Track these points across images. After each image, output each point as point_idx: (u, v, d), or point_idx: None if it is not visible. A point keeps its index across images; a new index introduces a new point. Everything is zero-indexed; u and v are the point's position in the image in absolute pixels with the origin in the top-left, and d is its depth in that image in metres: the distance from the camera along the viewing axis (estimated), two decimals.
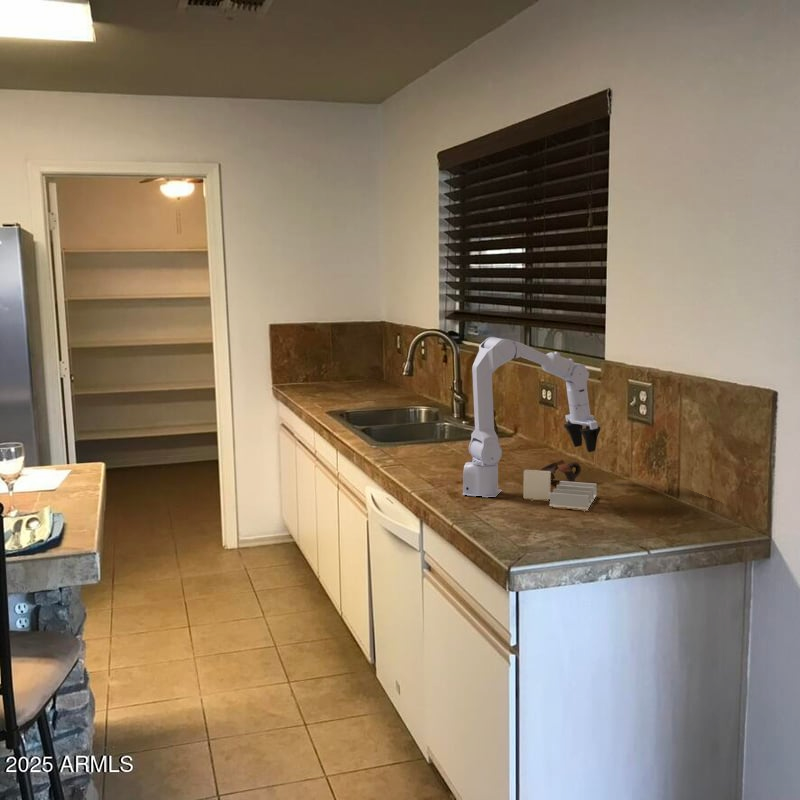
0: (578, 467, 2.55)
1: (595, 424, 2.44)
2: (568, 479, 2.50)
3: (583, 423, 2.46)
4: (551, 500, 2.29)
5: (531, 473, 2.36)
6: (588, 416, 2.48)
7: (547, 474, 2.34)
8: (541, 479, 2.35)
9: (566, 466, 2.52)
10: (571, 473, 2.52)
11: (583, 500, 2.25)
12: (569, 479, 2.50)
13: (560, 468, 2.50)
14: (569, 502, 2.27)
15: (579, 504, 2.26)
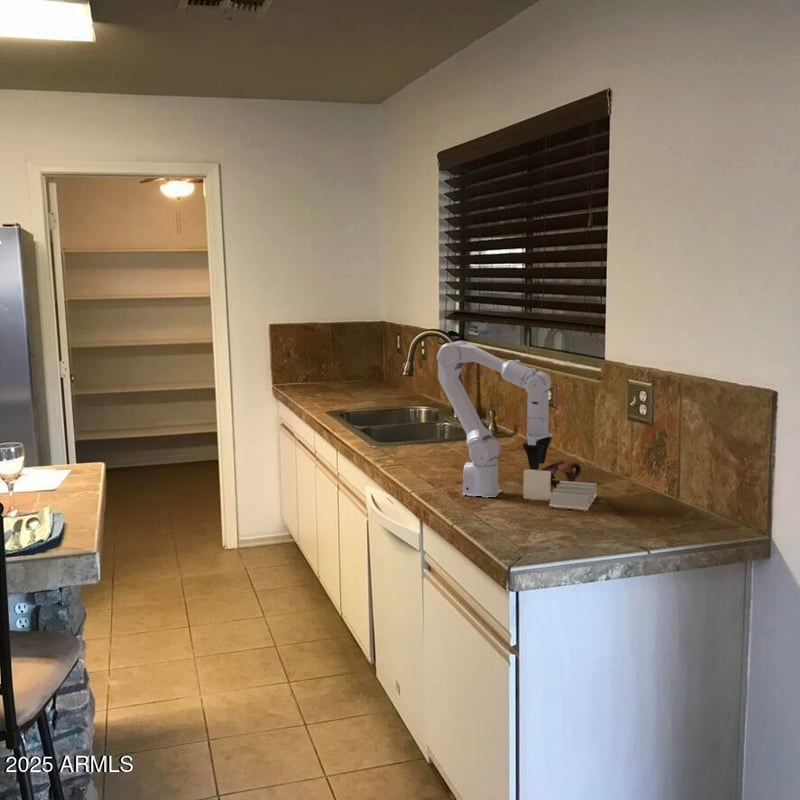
0: (579, 468, 2.54)
1: (532, 440, 2.28)
2: (568, 479, 2.49)
3: (527, 437, 2.31)
4: (551, 500, 2.29)
5: (531, 473, 2.36)
6: (539, 432, 2.32)
7: (547, 474, 2.34)
8: (541, 479, 2.35)
9: (566, 466, 2.51)
10: (571, 473, 2.51)
11: (583, 500, 2.25)
12: (569, 479, 2.50)
13: (560, 468, 2.50)
14: (569, 502, 2.27)
15: (579, 504, 2.26)
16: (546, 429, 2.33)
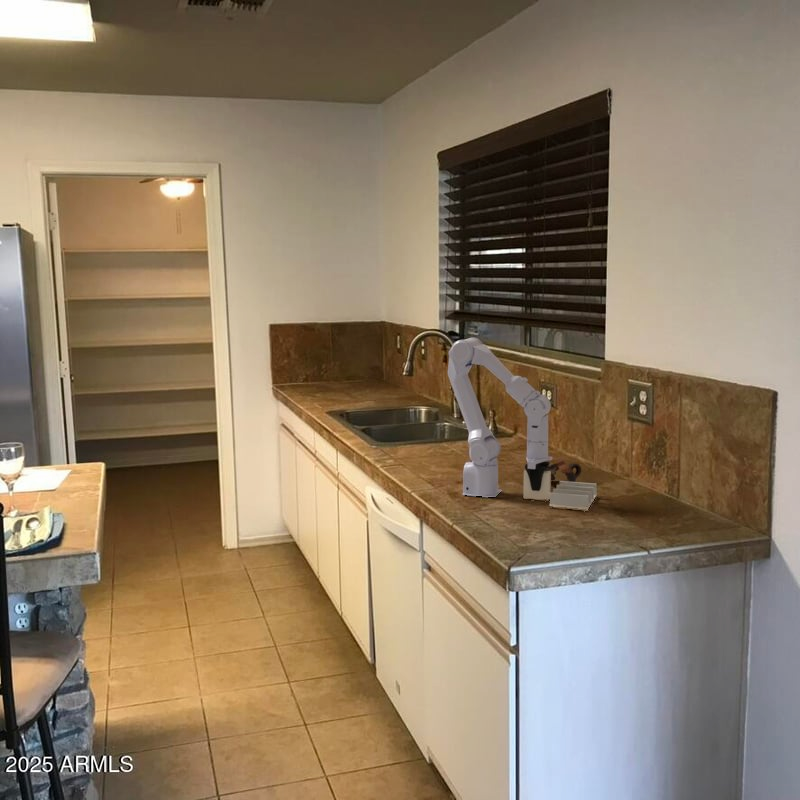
0: (579, 468, 2.54)
1: (532, 464, 2.29)
2: (569, 480, 2.49)
3: (527, 460, 2.32)
4: (551, 500, 2.29)
5: None
6: (539, 455, 2.33)
7: (547, 474, 2.34)
8: None
9: (567, 467, 2.51)
10: (572, 474, 2.51)
11: (583, 500, 2.25)
12: (570, 480, 2.49)
13: (561, 469, 2.49)
14: (569, 502, 2.27)
15: (579, 504, 2.26)
16: (546, 453, 2.33)
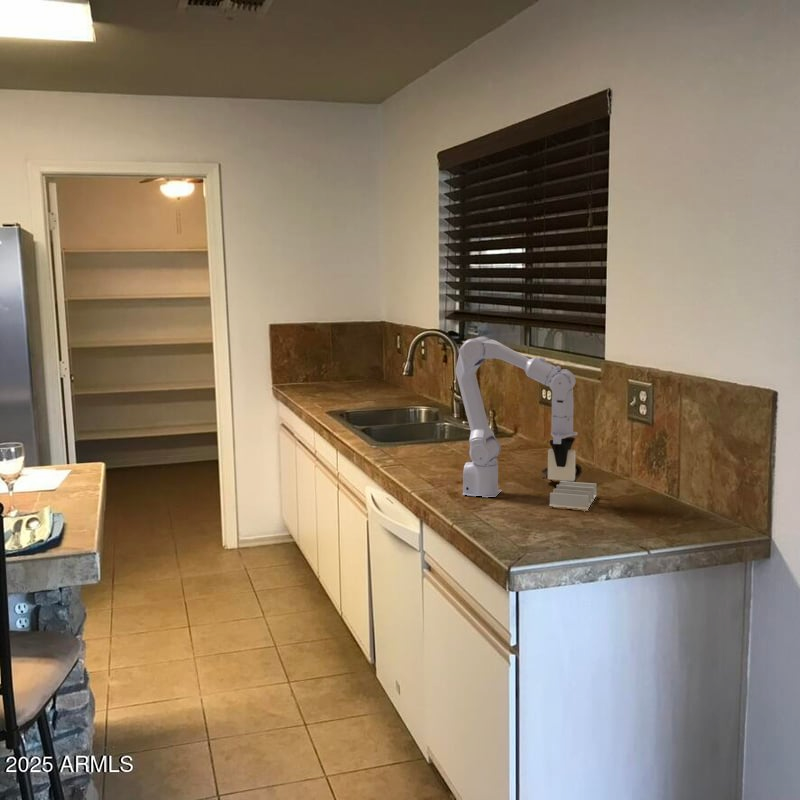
0: (579, 468, 2.53)
1: (558, 439, 2.25)
2: None
3: (552, 435, 2.29)
4: (551, 500, 2.29)
5: None
6: (564, 431, 2.29)
7: (572, 453, 2.31)
8: None
9: None
10: None
11: (583, 500, 2.25)
12: None
13: None
14: (569, 502, 2.27)
15: (579, 504, 2.26)
16: (571, 428, 2.30)
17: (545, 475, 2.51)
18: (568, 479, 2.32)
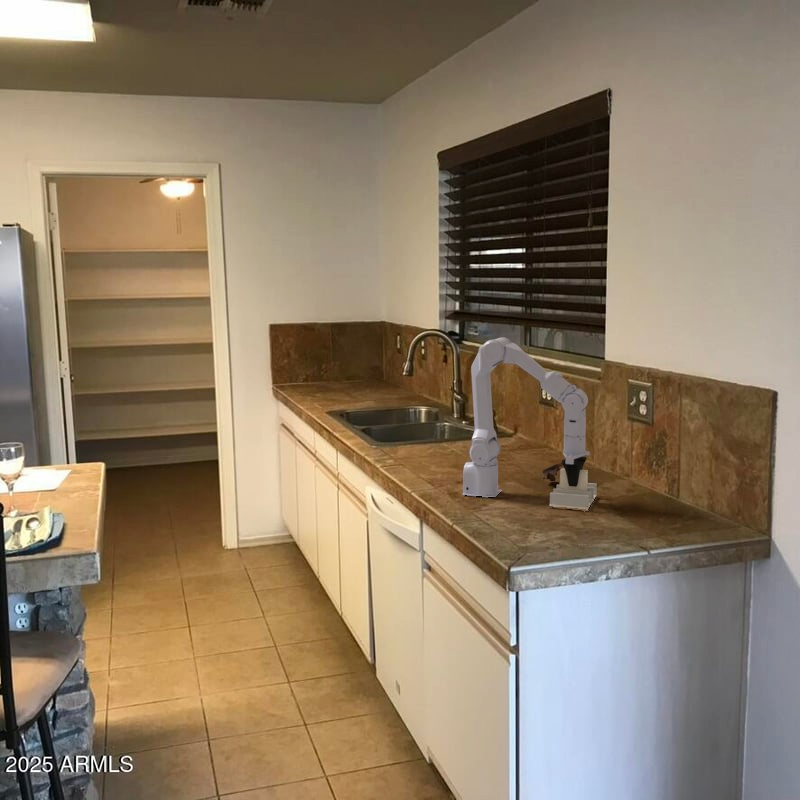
0: None
1: (570, 459, 2.25)
2: None
3: (565, 455, 2.28)
4: (551, 500, 2.29)
5: None
6: (576, 451, 2.29)
7: (584, 473, 2.30)
8: None
9: None
10: None
11: (583, 500, 2.25)
12: None
13: None
14: (569, 502, 2.27)
15: (579, 504, 2.26)
16: (583, 448, 2.30)
17: (545, 475, 2.50)
18: None
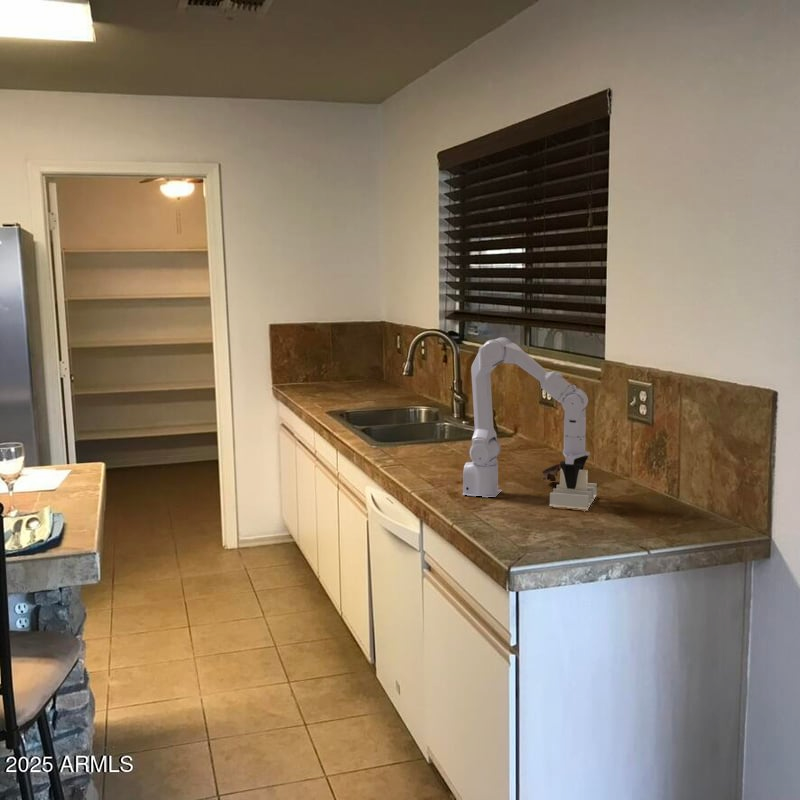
0: None
1: (570, 459, 2.25)
2: None
3: (565, 455, 2.28)
4: (551, 500, 2.29)
5: None
6: (576, 451, 2.29)
7: (584, 473, 2.30)
8: (578, 478, 2.31)
9: None
10: None
11: (583, 500, 2.25)
12: None
13: None
14: (569, 502, 2.27)
15: (579, 504, 2.26)
16: (583, 448, 2.30)
17: (546, 476, 2.50)
18: None
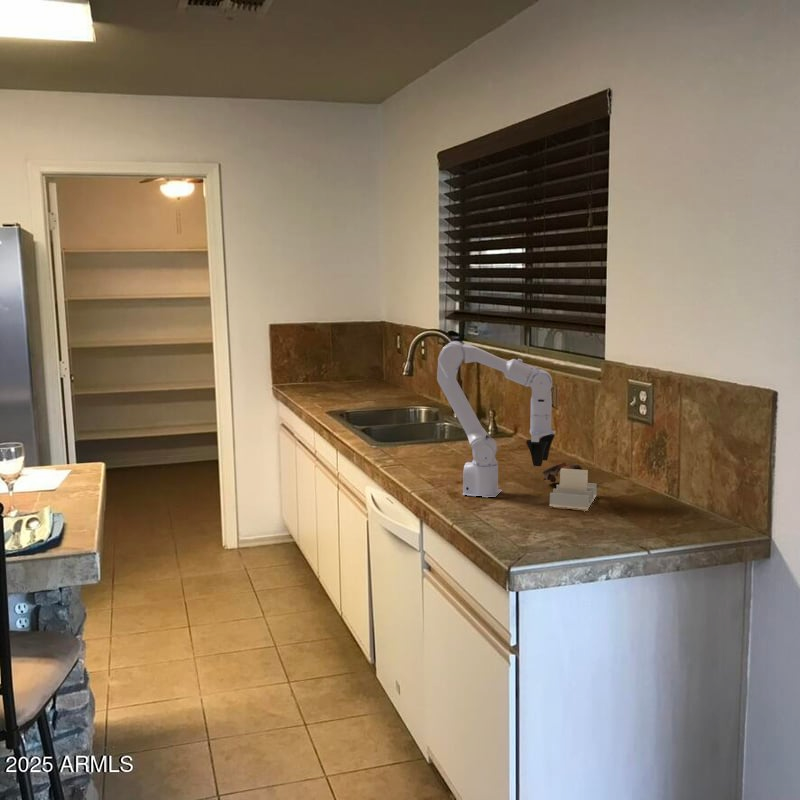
0: (580, 469, 2.52)
1: (536, 437, 2.32)
2: None
3: (531, 434, 2.35)
4: (551, 500, 2.29)
5: (568, 472, 2.32)
6: (542, 429, 2.35)
7: (584, 473, 2.30)
8: (578, 478, 2.31)
9: (568, 468, 2.49)
10: None
11: (583, 500, 2.25)
12: None
13: None
14: (569, 502, 2.27)
15: (579, 504, 2.26)
16: (549, 426, 2.36)
17: (546, 476, 2.49)
18: None
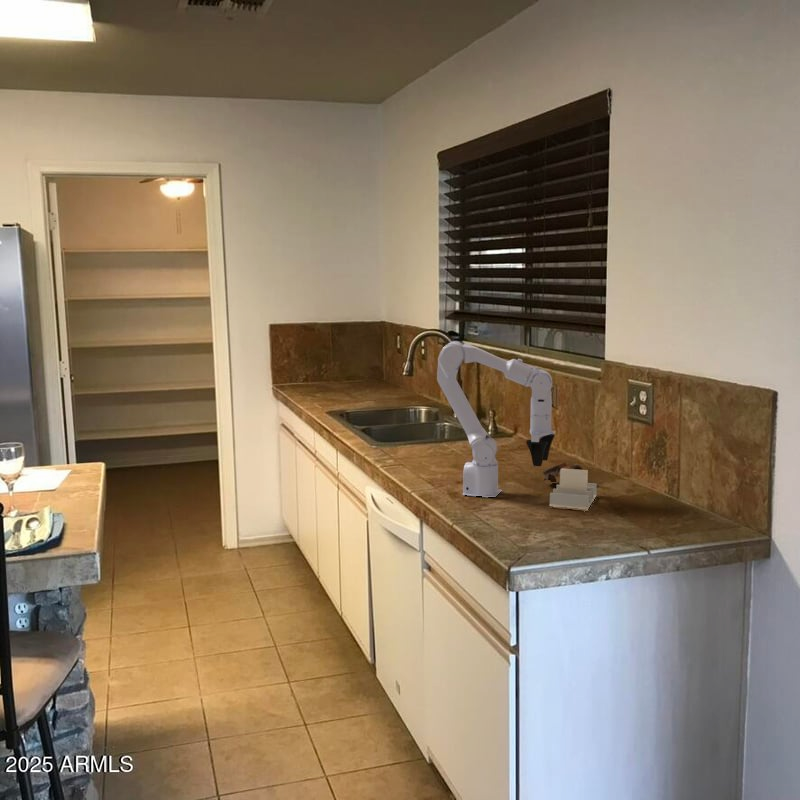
0: None
1: (536, 437, 2.32)
2: None
3: (531, 434, 2.35)
4: (551, 500, 2.29)
5: (568, 472, 2.32)
6: (542, 429, 2.35)
7: (584, 473, 2.30)
8: (578, 478, 2.31)
9: None
10: None
11: (583, 500, 2.25)
12: None
13: None
14: (569, 502, 2.27)
15: (579, 504, 2.26)
16: (549, 426, 2.36)
17: (547, 477, 2.49)
18: None
